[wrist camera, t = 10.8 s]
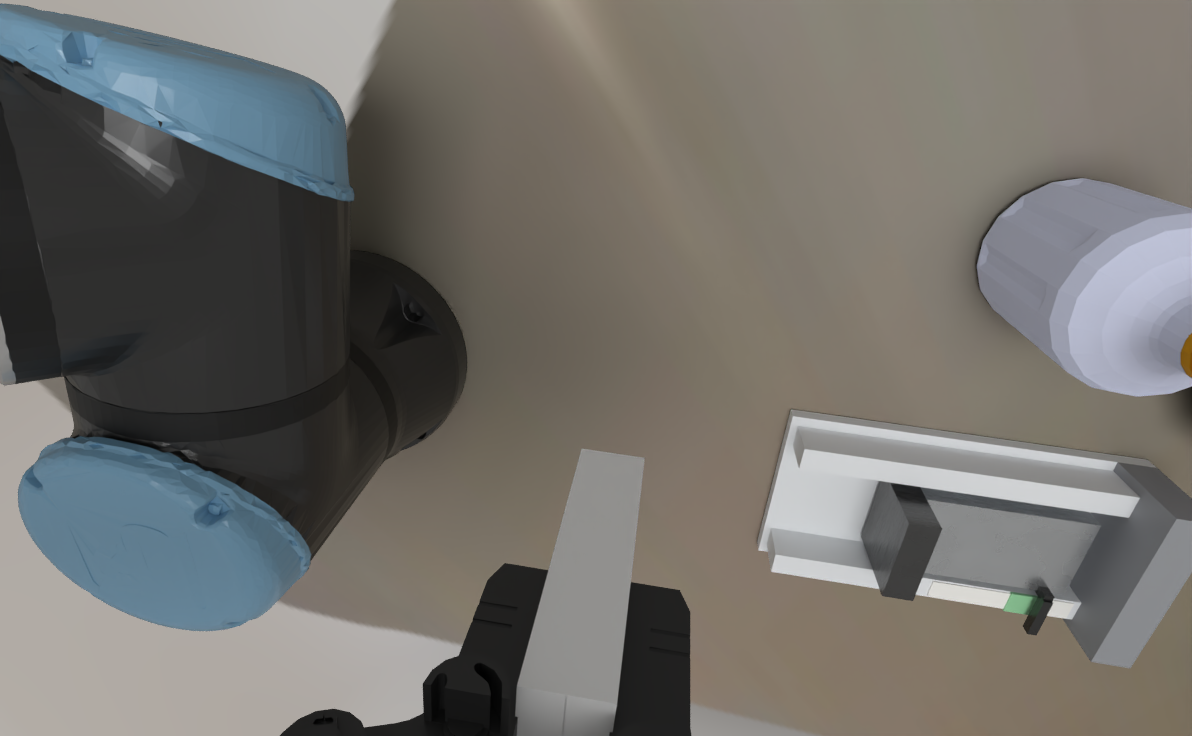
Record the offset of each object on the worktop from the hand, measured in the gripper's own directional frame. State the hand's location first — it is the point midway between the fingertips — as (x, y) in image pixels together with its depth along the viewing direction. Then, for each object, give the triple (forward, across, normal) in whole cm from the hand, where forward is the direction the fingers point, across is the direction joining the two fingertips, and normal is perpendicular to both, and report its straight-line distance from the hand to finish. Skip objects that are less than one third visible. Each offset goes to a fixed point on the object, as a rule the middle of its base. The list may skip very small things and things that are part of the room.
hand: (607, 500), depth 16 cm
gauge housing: (+29, +23, -18) cm, 41 cm away
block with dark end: (+28, +24, -20) cm, 42 cm away
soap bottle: (+30, +24, +1) cm, 38 cm away
